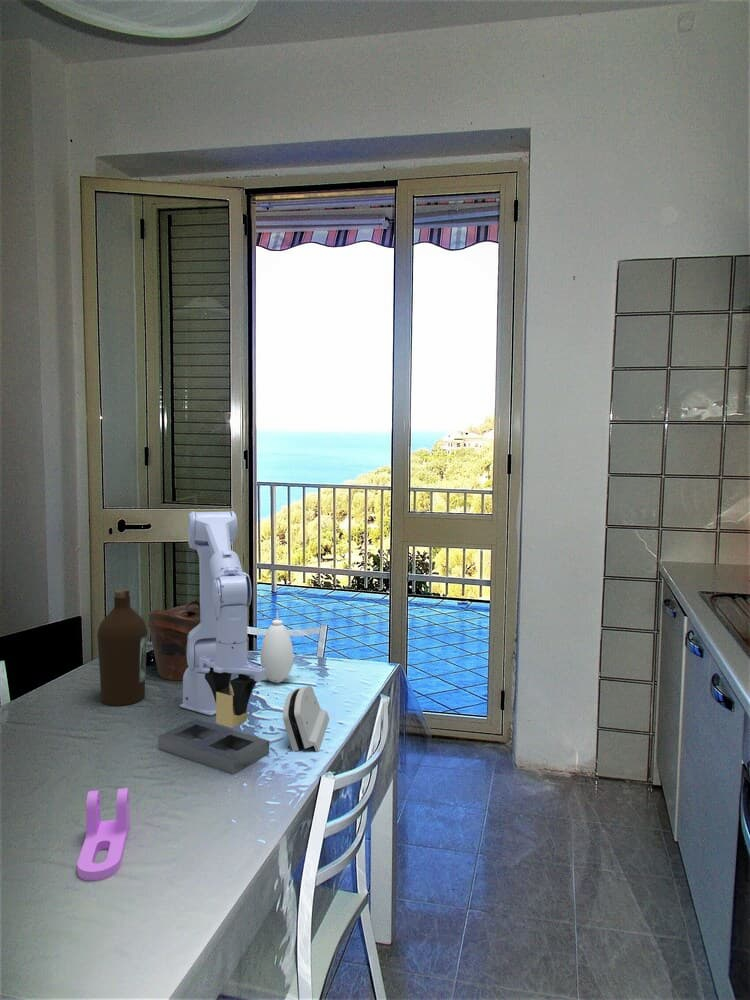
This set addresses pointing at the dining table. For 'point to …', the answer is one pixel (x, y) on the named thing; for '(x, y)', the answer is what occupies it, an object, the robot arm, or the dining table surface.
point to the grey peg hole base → (214, 745)
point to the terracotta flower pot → (172, 638)
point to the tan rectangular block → (227, 708)
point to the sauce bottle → (277, 652)
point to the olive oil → (122, 653)
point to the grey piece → (304, 719)
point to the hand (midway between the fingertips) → (231, 711)
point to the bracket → (104, 837)
